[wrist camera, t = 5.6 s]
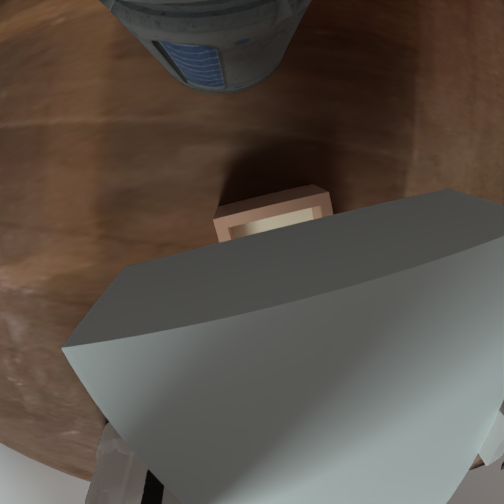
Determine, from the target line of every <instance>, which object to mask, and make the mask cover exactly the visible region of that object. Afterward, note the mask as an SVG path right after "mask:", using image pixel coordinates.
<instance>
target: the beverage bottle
mask: <svg viewBox="0 0 504 504" xmlns="http://www.w3.org/2000/svg"><path fill="white" fill-rule="evenodd" d="M100 1H101V2H102V3H103V4H104V5H105V6H106V7H107V8H108V9H109V10H110V12H111V13H112V14H113V15H114V16H115V17H116V18H117V19H118V20H119V21H120V22H121V23H122V24H123V25H124V26H125V27H126V28H127V29H128V30H129V31H130V32H131V33H132V34H133V35H134V36H135V37H136V38H137V39H138V40H139V41H140V42H141V43H142V44H143V45H144V46H145V47H146V48H147V49H148V50H149V52H150V53H151V54H152V55H153V56H154V57H155V58H156V59H157V60H158V61H159V62H160V63H161V64H162V65H163V66H164V68H165V69H166V70H167V71H168V72H169V73H170V74H171V75H172V76H173V77H174V78H175V79H176V80H178V81H179V82H180V83H182V84H183V85H185V86H187V87H189V88H191V89H193V90H197V91H201V92H204V93H212V94H227V93H235V92H238V91H242V90H246V89H248V88H250V87H253V86H255V85H257V84H259V83H260V82H262V81H263V80H265V79H266V78H268V77H269V76H270V75H271V74H272V73H273V72H274V71H275V70H276V68H277V67H278V65H279V64H280V62H281V61H282V59H283V57H284V55H285V52H286V50H287V47H288V45H289V43H290V41H291V39H292V37H293V35H294V33H295V31H296V29H297V27H298V25H299V23H300V21H301V19H302V17H303V15H304V13H305V11H306V10H307V8H308V6H309V4H310V2H311V1H312V0H100Z"/></svg>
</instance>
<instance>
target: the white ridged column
mask: <svg viewBox="0 0 504 504" xmlns="http://www.w3.org/2000/svg"><path fill="white" fill-rule="evenodd" d="M96 461H97V466H96V469H95V472H94V475H93V478H92V481H91V484H90V487H89V490H88V493H87V496H86V499H85V504H141V500H142V495H143V493H144V491H143V489H144V484H145V479H146V474H147V470H148V468H147V467H146V466H145V465H144V464H143V462H142V461H141V460H140V459H139V458H138V457H137V456H136V454H135V453H134V452H133V451H132V450H131V448H130V447H129V446H128V445H127V444H126V442H125V441H124V440H123V439H122V437H121V436H120V435H119V434H118V432H117V431H116V430H115V429H114V427H113V426H112V425H111V423H110V422H108V423H107V424H106V426H105V428H104V430H103V433H102V435H101V438H100V440H99V443H98V446H97V458H96Z"/></svg>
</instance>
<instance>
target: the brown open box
mask: <svg viewBox="0 0 504 504" xmlns="http://www.w3.org/2000/svg"><path fill="white" fill-rule="evenodd" d="M330 215H333V210H332V205H331V200H330V194H329V191H327V190H324V189H322V188H320V187H318V186H316V185H314V184H310V185H305V186H301V187H296V188H292V189H287V190H283V191H279V192H275V193H270V194H266V195H262V196H258V197H254V198H250V199H246V200H242V201H238V202H234V203H230V204H226V205H222V206H218V208H217V210H216V213H215V216H214V218H213V221H214V225H215V228H216V232H217V235H218V239H219V242H224V241H228V240H232V239H236V238H240V237H244V236H248V235H252V234H256V233H260V232H264V231H268V230H272V229H276V228H280V227H284V226H289V225H293V224H297V223H301V222H305V221H309V220H313V219H318V218H322V217H326V216H330Z"/></svg>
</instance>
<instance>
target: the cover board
mask: <svg viewBox="0 0 504 504" xmlns="http://www.w3.org/2000/svg"><path fill="white" fill-rule="evenodd" d="M61 349H62V351H63V352H64V354H65V356H66V358H67V359H68V361H69V363H70V364H71V366H72V368H73V369H74V371H75V372H76V374H77V376H78V377H79V379H80V380H81V382H82V383H83V385H84V387H85V388H86V390H87V391H88V393H89V394H90V396H91V397H92V398H93V400H94V401H95V403H96V404H97V406H98V407H99V408H100V410H101V411H102V413H103V414H104V415H105V417H106V418H107V419H108V421H109V422H110V423H111V425H112V426H113V427H114V429H115V430H116V431H117V432H118V434H119V435H120V436H121V437H122V439H123V440H124V441H125V442H126V444H127V445H128V446H129V447H130V448H131V450H132V451H133V452H134V453H135V454H136V456H137V457H138V458H139V459H140V460H141V461H142V462H143V464H144V465H145V466H146V467H147V468H148V469H149V470H150V471H151V472H152V473H153V474H154V476H155V477H156V478H157V479H158V480H159V481H160V482H161V483H162V484H163V485H164V486H165V487H166V488H167V489H168V490H169V491H170V492H171V493H172V494H173V495H174V496H175V497H176V498H177V499H178V500H179V501H180V502H181V503H182V504H446V503H447V502H448V500H449V499H450V497H451V496H452V495H453V493H454V492H455V490H456V488H457V487H458V486H459V484H460V482H461V481H462V479H463V478H464V476H465V475H466V473H467V471H468V470H469V468H470V466H471V465H472V463H473V461H474V459H475V458H476V456H477V454H478V452H479V450H480V448H481V446H482V444H483V443H484V441H485V439H486V437H487V435H488V433H489V431H490V429H491V427H492V424H493V422H494V420H495V418H496V416H497V414H498V411H499V410H500V407H501V405H502V403H503V400H504V205H501V204H498V203H495V202H492V201H489V200H485V199H482V198H479V197H476V196H472V195H469V194H466V193H462V192H459V191H455V190H452V189H444V190H439V191H435V192H430V193H426V194H421V195H417V196H412V197H408V198H403V199H399V200H395V201H390V202H386V203H381V204H377V205H373V206H368V207H364V208H360V209H356V210H351V211H347V212H343V213H339V214H334V215H330V216H326V217H322V218H318V219H313V220H309V221H305V222H301V223H297V224H293V225H289V226H284V227H280V228H276V229H272V230H268V231H264V232H260V233H256V234H252V235H248V236H244V237H240V238H236V239H232V240H228V241H224V242H220V243H216V244H212V245H208V246H204V247H200V248H197V249H193V250H189V251H185V252H181V253H177V254H173V255H169V256H166V257H162V258H158V259H154V260H150V261H147V262H143V263H139V264H135V265H131V266H128V267H124V268H123V270H122V271H121V272H120V273H119V274H118V275H117V277H116V278H115V279H114V280H113V282H112V283H111V284H110V285H109V286H108V288H107V289H106V290H105V291H104V293H103V294H102V295H101V296H100V298H99V299H98V300H97V301H96V303H95V304H94V305H93V306H92V308H91V309H90V310H89V311H88V313H87V314H86V315H85V317H84V318H83V319H82V320H81V322H80V323H79V324H78V326H77V327H76V328H75V330H74V331H73V332H72V334H71V335H70V336H69V338H68V339H67V340H66V342H65V343H64V344H63V346H62V347H61Z"/></svg>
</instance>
